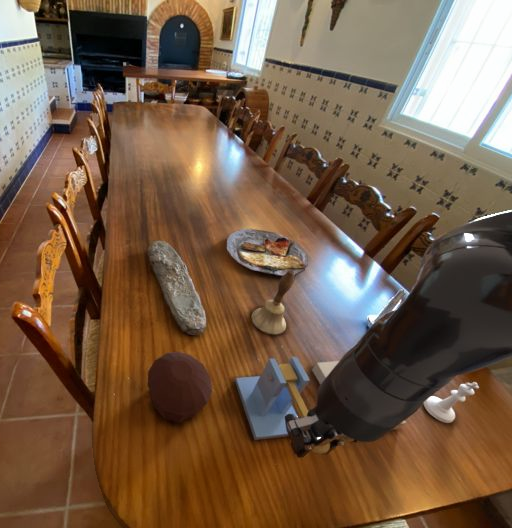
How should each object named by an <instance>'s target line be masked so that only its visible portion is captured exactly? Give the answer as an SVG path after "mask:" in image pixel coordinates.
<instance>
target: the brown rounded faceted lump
mask: <svg viewBox="0 0 512 528" xmlns="http://www.w3.org/2000/svg"><path fill="white" fill-rule="evenodd" d="M147 388H148V390H149V393H150V395H151V400H152V404H153V409H155V410H156V412H158V413H159V415H160V416H161V417H162V419H163V420H165V421H171V422H175V423H177V424H180V423H182V422H184V421H186V420H188V419H192V418H194V417H195V415H196V414H197V413H198V412H199V411H200V410H202V408H204V407H205V406H206V405H207V404H208V403H209V400H210V397H211V395H212V393H213V387H212V379H211V375H210V373H209V371H208V370H207V369H206V367H205V365H204V363H202V362H201V361H199V360H198V359H197V358H195V357H194V356H192V355H191V354H190V353H189V354H188V353H185V352H182V351H172V352H171V351H170V352H167V353H166V352H165V353H164V354H163V355H161V356H160V357H158V358H156V359H155V360H154V361H153V363H152V365H151V366H150V368H149V370H148V371H147Z"/></svg>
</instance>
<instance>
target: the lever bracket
mask: <svg viewBox="0 0 512 528" xmlns="http://www.w3.org/2000/svg"><path fill="white" fill-rule="evenodd" d="M289 363H290V364H291V366H292V368H293V370H294V372H295V374H296V376H297V378H298V379H297V381H296V382H295V386H296V388H297V390H298V392H299V394H300V395H301V393H302V392H303V391H304V390H305V389H306V387H307V385H308V384H309V383H310V381H311V380H310V378H309V376H308V374H307V372H306V371H305V369H304V367H303V364H302V363H301V361H300V360H299V358H298V357H297V356H291V357H290V359H289V360H288V362H287V364H289ZM278 364H279V363H278V362H277V360H276V358H268V360H267V363H266V364H265V367H264V368H263V370H262V372H261V374H260V375H257V376H256V375H255V376H245V377H236V378H235V380H234V384H235V386H236V389H237V392H238V395H239V398H240V401H241V404H242V406H243V407H242V408H243V411H244V412H245V415H246V419H247V421H248V425H249V427H250V430H251V433H252V436H253V440H254V441H257V440H258V441H259V440H268V439H269V440H270V439H276V438H285V437H289V435H288V433H287V430H286V424H285V416H286V415H287V414H294V416H295V417H296V416H297V417H298V414H297V412H296V410H295V408H294V406H293V404H294V402H293V400H292V398H291V396H290V394H289V391H288V389H287V387H284V386H285V384H286V381H285V379H284V376H283V374H282V372H281V370H280V368H279V366H278ZM298 419H300V418H299V417H298Z"/></svg>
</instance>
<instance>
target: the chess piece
mask: <svg viewBox="0 0 512 528" xmlns="http://www.w3.org/2000/svg"><path fill="white" fill-rule="evenodd" d="M474 389H476V390H479V389H480V386H479V385H478V383H477V382H476V381H473V382H471V383H470V382H465V383H461V384H459V387H458V389H452V390H450V394H451V395H450V396H448V397H446V398H444V399H442V398H440V397H438V396H435V395H432V396H431V397H429V398H428V399H427V400H426V401H425V402H424V403H423V404H422V405H423V406H424V408H425V410H426V411H427V413H428V414H429V415H431V416H432V417H433V418H435V419H436V420H437V421H440V422H442V423H446V424H449V423H453V422H454V420H455V419H456V413H455V410H454V408H453V406H454V405H455V404H456V403H457V402H462V403H463V402H465V401H466V397H468V396H474V394H475V390H474Z"/></svg>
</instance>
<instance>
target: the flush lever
mask: <svg viewBox="0 0 512 528" xmlns="http://www.w3.org/2000/svg"><path fill="white" fill-rule="evenodd" d="M277 364H278V366H279V368H280V370H281V372H282V374H283V376H284V379H285V381H286V384H285V386H284V387H287V389H288V391H289V394H290V396H291V398H292V400H293V402H294V403H293V404H294V406H295V408H296V410H297V413H298V415H299V417H300V418H304V417H307V413H308V411H309V410H308V408H307V406H306V404H305V401H304V399H303V398H302V396H301V394H299V392H298V390H297V388H296V386H295V382H296V381H297V379H298V378H297V376H296V374H295V372H294V370H293V368H292V366H291V364H290V363H289V364H288V363H280V364H279V363H277ZM307 433H308V431H307ZM308 435H309V433H308ZM309 438H310V440H311V437H310V435H309ZM329 449H330V443H328V444H327V445H325V446H316V447H314V448H313V449H312V450H311V451H310V452H313V453H314V454H317V455H323V454H324V453H326V452H327V451H328V450H329Z"/></svg>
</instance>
